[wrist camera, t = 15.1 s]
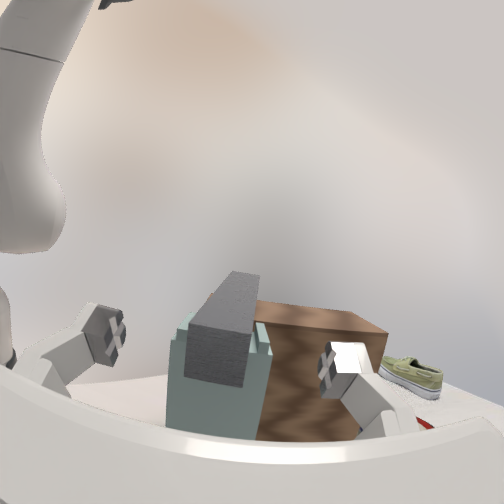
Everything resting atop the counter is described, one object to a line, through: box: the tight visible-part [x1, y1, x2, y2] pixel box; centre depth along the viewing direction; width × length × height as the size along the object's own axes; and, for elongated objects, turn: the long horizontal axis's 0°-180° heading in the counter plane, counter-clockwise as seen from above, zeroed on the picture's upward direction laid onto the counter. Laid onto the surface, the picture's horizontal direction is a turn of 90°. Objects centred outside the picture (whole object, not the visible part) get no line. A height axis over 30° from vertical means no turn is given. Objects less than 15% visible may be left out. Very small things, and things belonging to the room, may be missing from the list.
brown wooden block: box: [206, 293, 388, 442], centre depth 37 cm, size 22×13×26 cm, turn 92°
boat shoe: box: [378, 356, 443, 400], centre depth 73 cm, size 10×29×9 cm, turn 20°
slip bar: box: [184, 271, 260, 388], centre depth 27 cm, size 4×22×4 cm, turn 178°
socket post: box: [166, 312, 273, 440], centre depth 24 cm, size 8×6×26 cm
